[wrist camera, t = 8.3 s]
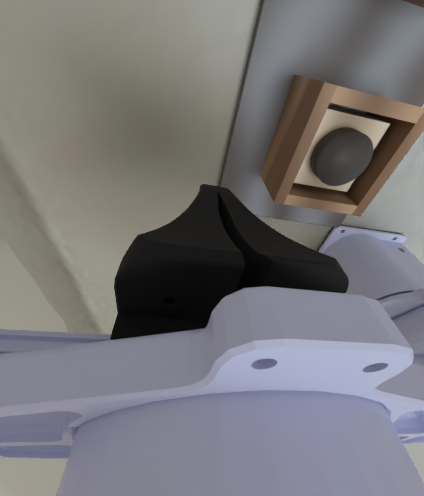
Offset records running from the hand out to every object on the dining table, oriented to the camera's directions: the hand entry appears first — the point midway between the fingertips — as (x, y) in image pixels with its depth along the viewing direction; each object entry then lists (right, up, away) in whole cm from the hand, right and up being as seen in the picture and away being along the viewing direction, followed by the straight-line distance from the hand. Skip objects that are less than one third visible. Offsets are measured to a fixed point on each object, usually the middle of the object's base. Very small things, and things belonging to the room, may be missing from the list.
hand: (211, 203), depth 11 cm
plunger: (+9, +7, +7) cm, 13 cm away
